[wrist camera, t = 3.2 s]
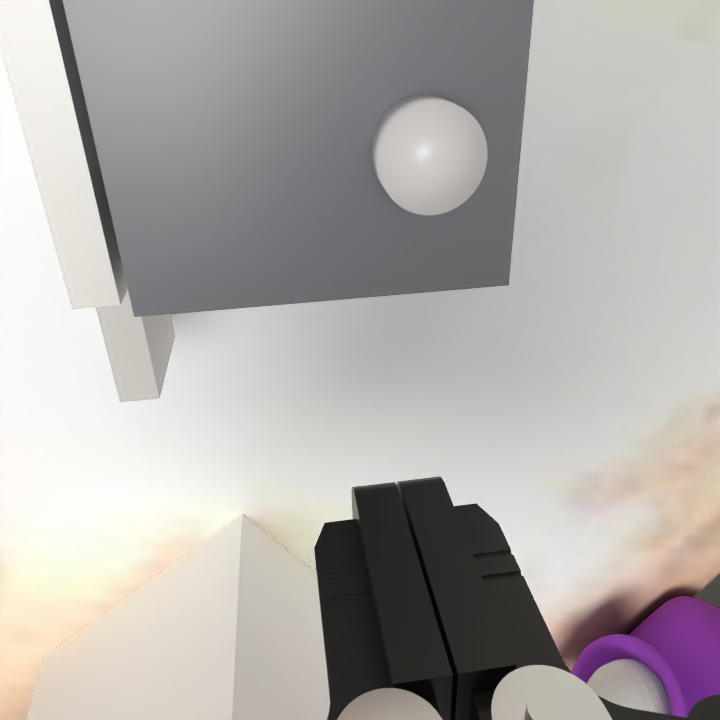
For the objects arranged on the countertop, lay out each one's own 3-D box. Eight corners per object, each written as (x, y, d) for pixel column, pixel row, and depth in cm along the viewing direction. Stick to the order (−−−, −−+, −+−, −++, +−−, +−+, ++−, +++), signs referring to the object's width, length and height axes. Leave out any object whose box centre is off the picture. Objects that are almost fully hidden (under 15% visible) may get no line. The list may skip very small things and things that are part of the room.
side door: (19, -248, 14) (-146, -420, 8) (80, -248, 15) (-41, -417, 9) (143, 317, 21) (99, 438, 15) (182, 314, 21) (154, 433, 16)
